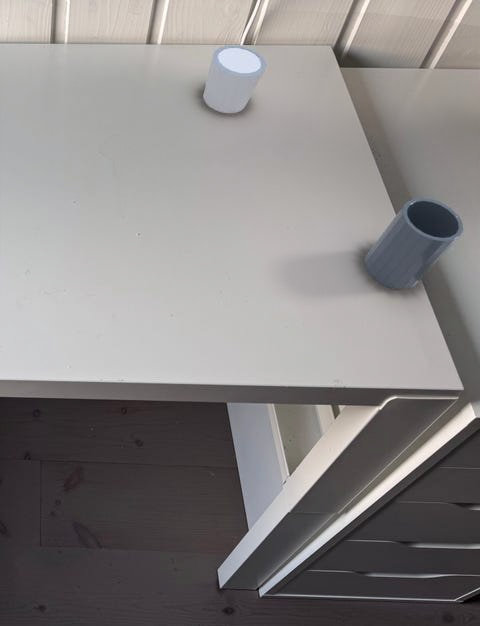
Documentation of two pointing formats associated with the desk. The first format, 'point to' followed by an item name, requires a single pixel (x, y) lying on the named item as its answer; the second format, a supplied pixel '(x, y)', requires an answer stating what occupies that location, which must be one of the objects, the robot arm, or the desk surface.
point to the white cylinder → (232, 78)
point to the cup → (413, 243)
